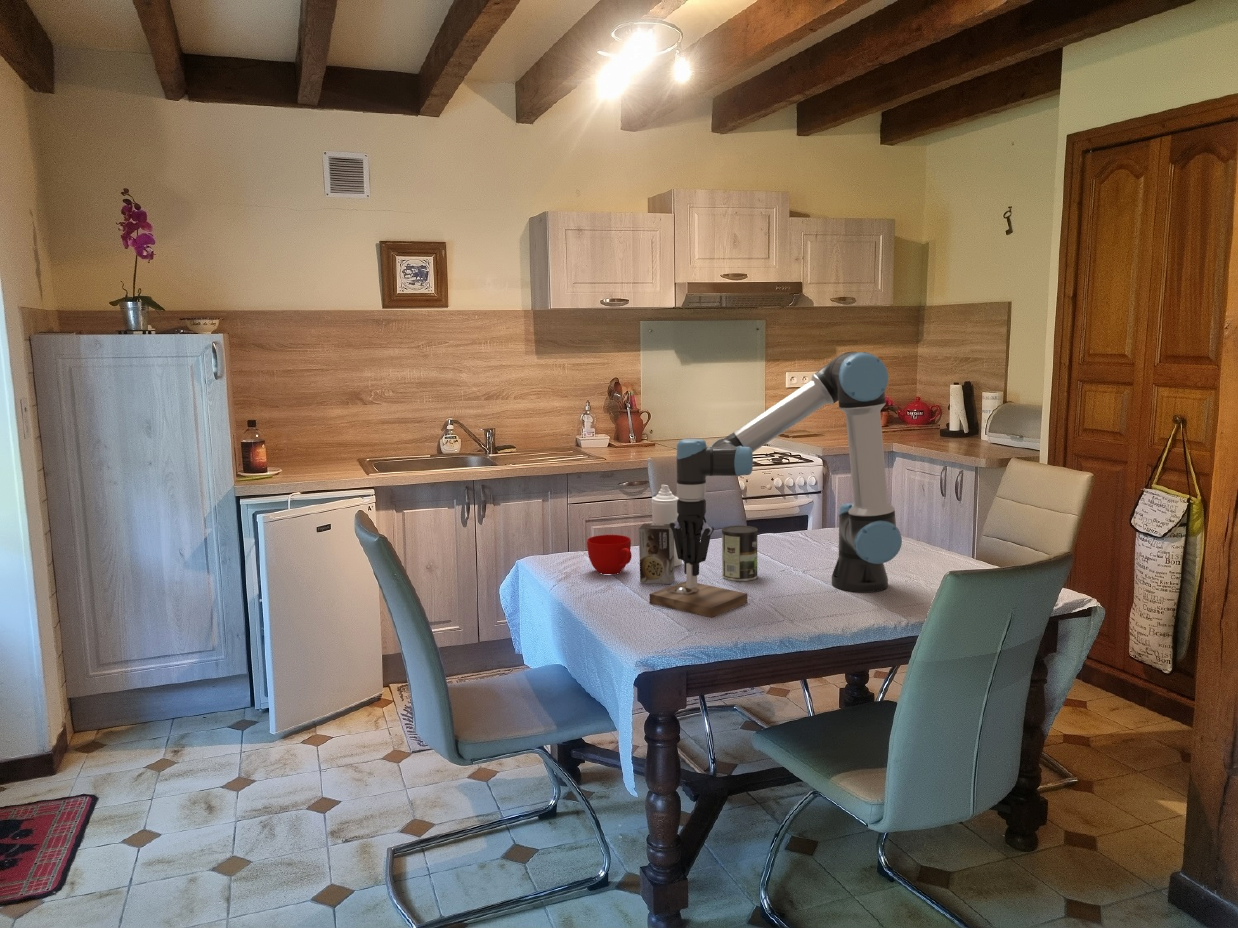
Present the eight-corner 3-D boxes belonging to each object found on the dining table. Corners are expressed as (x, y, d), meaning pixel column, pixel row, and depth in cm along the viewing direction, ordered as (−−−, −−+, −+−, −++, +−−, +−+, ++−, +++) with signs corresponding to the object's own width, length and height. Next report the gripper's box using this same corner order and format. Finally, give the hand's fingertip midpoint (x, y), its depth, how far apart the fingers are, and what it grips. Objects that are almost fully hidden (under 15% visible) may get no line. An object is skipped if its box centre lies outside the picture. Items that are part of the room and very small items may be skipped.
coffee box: (675, 578, 270) (674, 523, 268) (670, 584, 264) (669, 528, 262) (644, 577, 273) (643, 522, 270) (638, 582, 266) (638, 527, 264)
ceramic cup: (612, 583, 266) (611, 549, 265) (579, 571, 280) (578, 538, 278) (648, 575, 274) (648, 542, 272) (614, 564, 287) (613, 532, 286)
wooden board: (747, 602, 246) (747, 593, 245) (711, 617, 234) (711, 607, 234) (686, 589, 259) (686, 580, 259) (649, 602, 247) (649, 593, 247)
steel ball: (691, 594, 250) (686, 584, 250) (684, 597, 247) (678, 587, 248) (683, 599, 252) (678, 588, 252) (676, 602, 249) (670, 591, 250)
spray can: (692, 566, 283) (691, 484, 279) (660, 571, 279) (660, 488, 275) (673, 558, 293) (672, 479, 290) (643, 562, 289) (642, 482, 285)
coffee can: (758, 572, 275) (758, 525, 273) (756, 582, 265) (756, 533, 263) (723, 571, 277) (723, 524, 275) (720, 580, 267) (720, 532, 265)
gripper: (720, 499, 242) (720, 587, 246) (680, 493, 251) (680, 579, 254) (703, 503, 237) (703, 594, 240) (662, 498, 245) (663, 585, 249)
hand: (691, 586), depth 247 cm, fingers closed
